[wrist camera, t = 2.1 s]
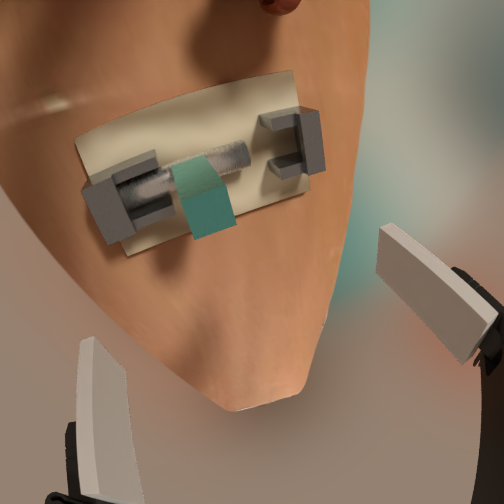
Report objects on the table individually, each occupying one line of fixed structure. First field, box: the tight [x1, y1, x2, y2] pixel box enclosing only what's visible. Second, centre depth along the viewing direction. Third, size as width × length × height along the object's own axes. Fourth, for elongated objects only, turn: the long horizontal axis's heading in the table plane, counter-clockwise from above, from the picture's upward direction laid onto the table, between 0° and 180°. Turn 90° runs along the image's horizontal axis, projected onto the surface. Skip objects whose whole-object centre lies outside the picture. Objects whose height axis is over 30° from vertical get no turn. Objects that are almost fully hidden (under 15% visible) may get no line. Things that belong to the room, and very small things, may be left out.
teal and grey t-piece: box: [116, 140, 251, 240], centre depth 23 cm, size 3×15×11 cm, turn 102°
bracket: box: [81, 149, 176, 245], centre depth 25 cm, size 6×7×4 cm
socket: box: [259, 106, 326, 180], centre depth 27 cm, size 6×4×4 cm
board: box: [74, 71, 310, 256], centre depth 28 cm, size 14×22×1 cm, turn 102°
